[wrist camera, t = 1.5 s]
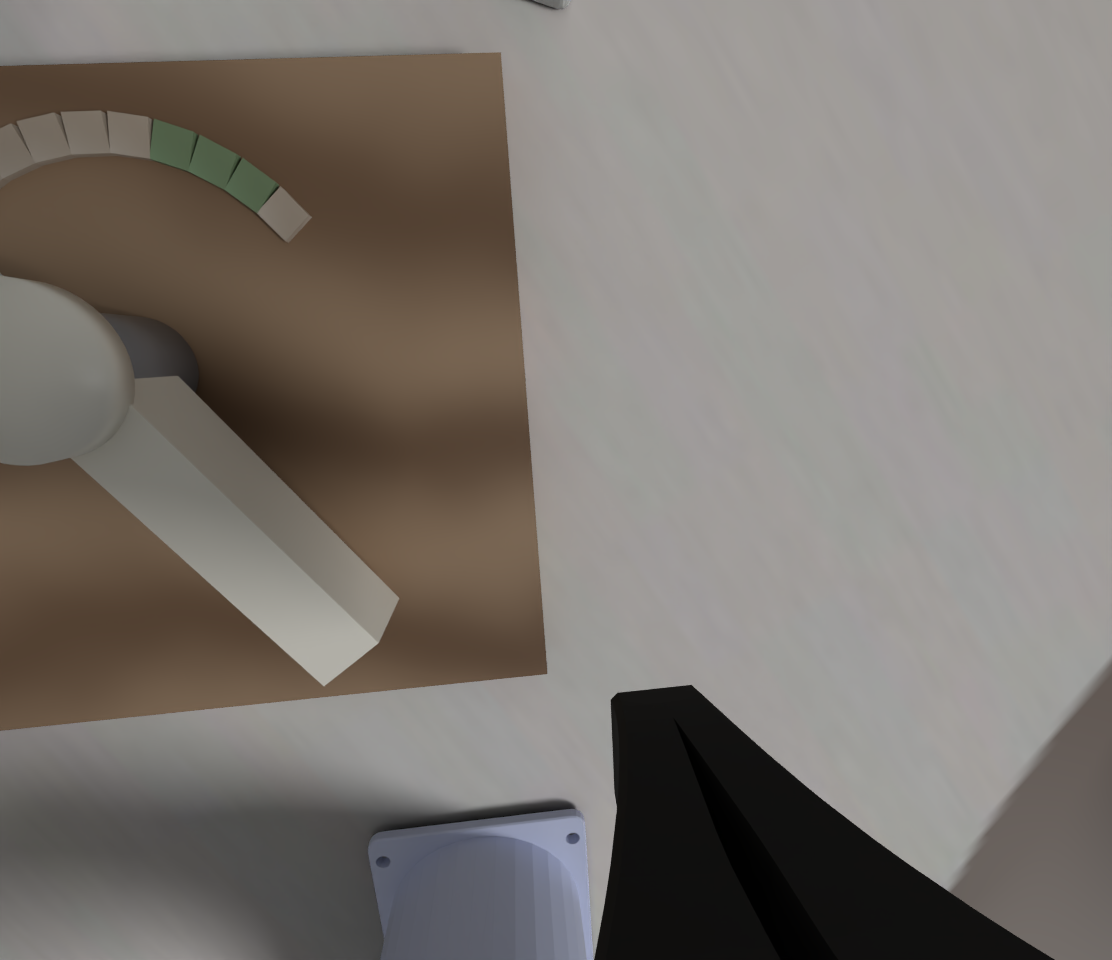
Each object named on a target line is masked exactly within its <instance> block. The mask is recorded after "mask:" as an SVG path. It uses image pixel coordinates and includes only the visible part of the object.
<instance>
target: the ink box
mask: <svg viewBox="0 0 1112 960" xmlns="http://www.w3.org/2000/svg"><path fill="white" fill-rule="evenodd" d="M533 1H536V2H539V3H541V4H544V5H547V6H550V7H553V8H556V9H565V8H566V7H567V6H568V5H569V3H570V1H571V0H533Z"/></svg>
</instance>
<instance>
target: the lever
mask: <svg viewBox="0 0 1112 960" xmlns="http://www.w3.org/2000/svg"><path fill="white" fill-rule="evenodd" d="M198 380H199V371H198V365H197V361H196V358H195V355H194V353H193V351H192V349H191V347H190V346H189V345H188V343H187V342H186V341H185V339H184V338H183V337H182V336H181V335H180V334H179V333H178V332H177V331H175V330H174V329H172V328H171V327H170V326H168V325H166V324H164V323H162V322H160V321H157V320H154V319H151V318H146V317H137V316H127V315H116V314H106V313H99V312H98V311H97V310H96V309H95V308H94V307H92V306H91V305H90V304H88V303H87V302H85V301H84V300H83V299H81V298H79V297H78V296H76V295H74V294H72V293H71V292H69V291H66V290H64V289H62V288H59V287H57V286H54V285H51V284H47V283H44V282H38V281H33V280H27V279H20V278H13V277H7V276H3V275H2V274H1V273H0V463H3V464H10V465H24V466H30V465H41V464H46V463H50V462H55V461H59V460H63V459H67V458H71V459H72V460H73V461H74V462H76V463H77V464H78V465H79V466H80V467H81V468H82V469H83V470H84V471H86V472H87V473H88V474H89V475H90V476H91V477H92V478H93V479H94V480H96V481H97V482H98V483H99V484H100V485H101V486H102V487H103V488H104V489H106V490H107V491H108V492H109V493H110V494H111V495H112V496H113V497H114V498H115V499H117V500H118V501H119V502H120V503H121V504H122V505H123V506H124V507H125V508H127V509H128V510H129V511H130V512H131V513H132V514H133V515H134V516H135V517H137V518H138V519H139V520H140V521H141V522H142V523H143V524H144V525H145V526H147V527H148V528H149V529H150V530H151V531H152V532H153V533H154V534H155V535H157V536H158V537H159V538H160V539H161V540H162V541H163V542H164V543H165V544H166V545H168V546H169V547H170V548H171V549H172V550H173V551H174V552H175V553H176V554H178V555H179V556H180V557H181V558H182V559H183V560H184V561H185V562H186V563H188V564H189V565H190V566H191V567H192V568H193V569H194V570H195V571H196V572H198V573H199V574H200V575H201V576H202V577H203V578H204V579H205V580H206V581H208V582H209V583H210V584H211V585H212V586H213V587H214V588H215V589H216V590H217V591H219V592H220V593H221V594H222V595H223V596H224V597H225V598H226V599H227V600H229V601H230V602H231V603H232V604H233V605H234V606H235V607H236V608H237V609H239V610H240V611H241V612H242V613H243V614H244V615H245V616H246V617H247V618H249V619H250V620H251V621H252V622H253V623H254V624H255V625H256V626H257V627H259V628H260V629H261V630H262V631H263V632H264V633H265V634H266V635H267V636H268V637H270V638H271V639H272V640H273V641H274V642H275V643H276V644H277V645H278V646H280V647H281V648H282V649H283V650H284V651H285V652H286V653H287V654H288V655H290V656H291V657H292V658H293V659H294V660H295V661H296V662H297V663H298V664H300V665H301V666H302V667H303V668H304V669H305V670H306V671H307V672H308V673H309V674H311V675H312V676H313V677H314V678H315V679H316V680H317V681H318V682H319V683H321V684H322V685H323V686H325V685H326V684H328V683H329V682H330V681H331V680H333V679H334V678H335V677H337V676H338V675H339V674H340V673H342V672H343V671H344V670H345V669H347V668H348V667H349V666H350V665H352V664H353V663H354V662H355V661H357V660H358V659H359V658H361V657H362V656H363V655H364V654H366V653H367V652H368V651H369V650H371V649H372V648H373V647H374V646H376V645H377V644H378V643H379V641H380V639H381V637H382V635H383V633H384V631H385V628H386V626H387V624H388V622H389V620H390V618H391V615H392V613H393V611H394V609H395V607H396V605H397V602H398V600H399V597H398V596H397V595H396V594H395V593H394V592H393V591H392V590H391V589H390V588H389V587H388V586H387V585H386V584H385V583H384V582H383V581H382V580H381V579H380V578H379V577H378V576H377V575H376V574H375V573H374V572H373V571H372V570H371V569H370V568H369V567H368V566H367V565H366V564H365V563H364V562H363V561H362V560H361V559H360V558H359V557H358V556H357V555H356V554H355V553H354V552H353V551H352V550H351V549H350V548H349V547H348V546H347V545H346V544H345V543H344V542H343V541H342V540H341V539H340V538H339V537H338V536H337V535H336V534H335V533H334V532H333V531H332V530H331V529H330V528H329V527H328V526H327V525H326V524H325V523H324V522H323V521H322V520H321V519H320V518H319V517H318V516H317V515H316V514H315V513H314V512H313V511H312V510H311V509H310V508H309V507H308V506H307V505H306V504H305V503H304V502H303V501H302V500H301V499H300V498H299V497H298V496H297V495H296V494H295V493H294V492H293V491H292V490H291V489H290V488H289V487H288V486H287V485H286V484H285V483H284V482H283V481H282V480H281V479H280V478H279V477H278V476H277V475H276V474H275V473H274V472H273V471H272V470H271V469H270V468H269V467H268V466H267V465H266V464H265V463H264V462H263V461H262V460H261V459H260V458H259V457H258V456H257V455H256V454H255V453H254V452H253V451H252V450H251V449H250V448H249V447H248V446H247V445H246V444H245V443H244V442H243V441H242V440H241V439H240V438H239V437H238V436H237V435H236V434H235V433H234V432H233V431H232V430H231V429H230V428H229V427H228V426H227V425H226V424H225V423H224V422H223V421H222V420H221V419H220V418H219V417H218V416H217V415H216V414H215V413H214V412H213V411H212V410H211V408H210V407H209V406H208V405H207V404H206V403H205V402H204V401H203V400H202V399H201V398H200V397H199V396H198V395H197V394H196V393H195V392H196V389H197V386H198Z"/></svg>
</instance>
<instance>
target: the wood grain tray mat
mask: <svg viewBox="0 0 1112 960" xmlns="http://www.w3.org/2000/svg"><path fill="white" fill-rule="evenodd" d="M0 273H1V274H2V275H3V276H7V277H13V278H20V279H27V280H33V281H38V282H44V283H47V284H51V285H54V286H57V287H59V288H62V289H64V290H66V291H69V292H71V293H72V294H74V295H76V296H78V297H79V298H81V299H83V300H84V301H85V302H87V303H88V304H90V305H91V306H92V307H94V308H95V309H96V310H97V311H98V312H99V313H106V314H116V315H127V316H137V317H146V318H151V319H154V320H157V321H160V322H162V323H164V324H166V325H168V326H170V327H171V328H172V329H174V330H175V331H177V332H178V333H179V334H180V335H181V336H182V337H183V338H184V339H185V341H186V342H187V343H188V345H189V346H190V347H191V349H192V351H193V353H194V355H195V358H196V361H197V365H198V371H199V380H198V386H197V389H196V392H195V393H196V394H197V395H198V396H199V397H200V398H201V399H202V400H203V401H204V402H205V403H206V404H207V405H208V406H209V407H210V408H211V410H212V411H213V412H214V413H215V414H216V415H217V416H218V417H219V418H220V419H221V420H222V421H223V422H224V423H225V424H226V425H227V426H228V427H229V428H230V429H231V430H232V431H233V432H234V433H235V434H236V435H237V436H238V437H239V438H240V439H241V440H242V441H243V442H244V443H245V444H246V445H247V446H248V447H249V448H250V449H251V450H252V451H253V452H254V453H255V454H256V455H257V456H258V457H259V458H260V459H261V460H262V461H263V462H264V463H265V464H266V465H267V466H268V467H269V468H270V469H271V470H272V471H273V472H274V473H275V474H276V475H277V476H278V477H279V478H280V479H281V480H282V481H283V482H284V483H285V484H286V485H287V486H288V487H289V488H290V489H291V490H292V491H293V492H294V493H295V494H296V495H297V496H298V497H299V498H300V499H301V500H302V501H303V502H304V503H305V504H306V505H307V506H308V507H309V508H310V509H311V510H312V511H313V512H314V513H315V514H316V515H317V516H318V517H319V518H320V519H321V520H322V521H323V522H324V523H325V524H326V525H327V526H328V527H329V528H330V529H331V530H332V531H333V532H334V533H335V534H336V535H337V536H338V537H339V538H340V539H341V540H342V541H343V542H344V543H345V544H346V545H347V546H348V547H349V548H350V549H351V550H352V551H353V552H354V553H355V554H356V555H357V556H358V557H359V558H360V559H361V560H362V561H363V562H364V563H365V564H366V565H367V566H368V567H369V568H370V569H371V570H372V571H373V572H374V573H375V574H376V575H377V576H378V577H379V578H380V579H381V580H382V581H383V582H384V583H385V584H386V585H387V586H388V587H389V588H390V589H391V590H392V591H393V592H394V593H395V594H396V595H397V596H398V597H399V600H398V602H397V605H396V607H395V609H394V611H393V613H392V615H391V618H390V620H389V622H388V624H387V626H386V628H385V631H384V633H383V635H382V637H381V639H380V641H379V643H378V644H377V645H376V646H374V647H373V648H372V649H371V650H369V651H368V652H367V653H366V654H364V655H363V656H362V657H361V658H359V659H358V660H357V661H355V662H354V663H353V664H352V665H350V666H349V667H348V668H347V669H345V670H344V671H343V672H342V673H340V674H339V675H338V676H337V677H335V678H334V679H333V680H331V681H330V682H329V683H328V684H326V685H325V686H323V685H322V684H321V683H319V682H318V681H317V680H316V679H315V678H314V677H313V676H312V675H311V674H309V673H308V672H307V671H306V670H305V669H304V668H303V667H302V666H301V665H300V664H298V663H297V662H296V661H295V660H294V659H293V658H292V657H291V656H290V655H288V654H287V653H286V652H285V651H284V650H283V649H282V648H281V647H280V646H278V645H277V644H276V643H275V642H274V641H273V640H272V639H271V638H270V637H268V636H267V635H266V634H265V633H264V632H263V631H262V630H261V629H260V628H259V627H257V626H256V625H255V624H254V623H253V622H252V621H251V620H250V619H249V618H247V617H246V616H245V615H244V614H243V613H242V612H241V611H240V610H239V609H237V608H236V607H235V606H234V605H233V604H232V603H231V602H230V601H229V600H227V599H226V598H225V597H224V596H223V595H222V594H221V593H220V592H219V591H217V590H216V589H215V588H214V587H213V586H212V585H211V584H210V583H209V582H208V581H206V580H205V579H204V578H203V577H202V576H201V575H200V574H199V573H198V572H196V571H195V570H194V569H193V568H192V567H191V566H190V565H189V564H188V563H186V562H185V561H184V560H183V559H182V558H181V557H180V556H179V555H178V554H176V553H175V552H174V551H173V550H172V549H171V548H170V547H169V546H168V545H166V544H165V543H164V542H163V541H162V540H161V539H160V538H159V537H158V536H157V535H155V534H154V533H153V532H152V531H151V530H150V529H149V528H148V527H147V526H145V525H144V524H143V523H142V522H141V521H140V520H139V519H138V518H137V517H135V516H134V515H133V514H132V513H131V512H130V511H129V510H128V509H127V508H125V507H124V506H123V505H122V504H121V503H120V502H119V501H118V500H117V499H115V498H114V497H113V496H112V495H111V494H110V493H109V492H108V491H107V490H106V489H104V488H103V487H102V486H101V485H100V484H99V483H98V482H97V481H96V480H94V479H93V478H92V477H91V476H90V475H89V474H88V473H87V472H86V471H84V470H83V469H82V468H81V467H80V466H79V465H78V464H77V463H76V462H74V461H73V460H72V459H71V458H67V459H63V460H59V461H55V462H50V463H46V464H41V465H30V466H24V465H10V464H3V463H0V731H1V730H11V729H21V728H30V727H40V726H49V725H59V724H69V723H78V722H88V721H98V720H107V719H117V718H127V717H136V716H146V715H156V714H165V713H175V712H184V711H194V710H204V709H213V708H223V707H233V706H242V705H252V704H262V703H271V702H281V701H291V700H300V699H310V698H319V697H329V696H339V695H348V694H358V693H368V692H377V691H387V690H397V689H406V688H416V687H426V686H435V685H445V684H454V683H464V682H474V681H483V680H493V679H503V678H512V677H522V676H532V675H541V674H547V663H546V650H545V637H544V623H543V610H542V597H541V583H540V570H539V557H538V543H537V530H536V517H535V503H534V490H533V477H532V464H531V450H530V437H529V424H528V410H527V397H526V384H525V370H524V357H523V344H522V330H521V317H520V304H519V291H518V277H517V264H516V251H515V237H514V224H513V211H512V197H511V184H510V171H509V158H508V144H507V131H506V118H505V104H504V91H503V78H502V64H501V53H465V54H428V55H391V56H354V57H318V58H281V59H244V60H207V61H170V62H134V63H97V64H60V65H23V66H0Z"/></svg>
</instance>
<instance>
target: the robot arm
mask: <svg viewBox="0 0 1112 960" xmlns="http://www.w3.org/2000/svg"><path fill="white" fill-rule="evenodd" d="M611 718H612V741H613V765H614V789H615V798H616V803H617V814H616V823H615V832H614V840H613V849H612V858H611V866H610V873H609V879H608V886H607V892H606V898H605V904H604V911H603V916H602V921H601V927H600V932H599V938H598V943H597V948H596V954H595V958H594V960H1054V959H1053V958H1051V957H1049V956H1048V955H1046V954H1044V953H1043V952H1041V951H1040V950H1038V949H1036V948H1035V947H1033V946H1031V945H1030V944H1028V943H1026V942H1025V941H1023V940H1022V939H1020V938H1018V937H1017V936H1015V935H1013V934H1012V933H1011V932H1009V931H1007V930H1006V929H1004V928H1003V927H1001V926H1000V925H998V924H997V923H995V922H993V921H992V920H990V919H989V918H987V917H986V916H984V915H983V914H981V913H979V912H978V911H976V910H975V909H973V908H972V907H970V906H969V905H967V904H966V903H964V902H963V901H962V900H960V899H959V898H957V897H956V896H954V895H953V894H951V893H950V892H948V891H947V890H945V889H944V888H943V887H941V886H940V885H938V884H937V883H935V882H934V881H932V880H931V879H929V878H928V877H926V876H925V875H923V874H922V873H921V872H919V871H918V870H916V869H915V868H913V867H912V866H910V865H909V864H907V863H906V862H905V861H903V860H902V859H900V858H899V857H898V856H896V855H895V854H893V853H892V852H891V851H889V850H888V849H887V848H885V847H884V846H882V845H881V844H880V843H878V842H877V841H876V840H874V839H873V838H871V837H870V836H869V835H868V834H866V833H865V832H864V831H862V830H861V829H860V828H858V827H857V826H856V825H855V824H853V823H852V822H851V821H849V820H848V819H847V818H845V817H844V816H843V815H842V814H840V813H839V812H838V811H836V810H835V809H834V808H832V807H831V806H830V805H829V804H827V803H826V802H825V801H823V800H822V799H821V798H820V797H818V796H817V795H816V794H815V793H814V792H812V791H811V790H810V789H809V788H807V787H806V786H805V785H804V784H803V783H801V782H800V781H799V780H798V779H797V778H796V777H794V776H793V775H792V774H791V773H790V772H788V771H787V770H786V769H785V768H784V767H783V766H781V765H780V764H779V763H778V762H777V761H775V760H774V759H773V758H772V757H771V756H770V755H768V754H767V753H766V752H765V751H764V750H763V749H762V748H761V747H759V746H758V745H757V744H756V743H755V742H754V741H753V740H751V739H750V738H749V737H748V736H747V735H746V734H745V733H744V732H743V731H741V730H740V729H739V728H738V727H737V726H736V725H735V724H734V723H733V722H732V721H730V720H729V719H728V718H727V717H726V716H725V715H724V714H723V713H722V712H721V711H719V710H718V709H717V708H716V707H715V706H714V705H713V704H712V703H711V702H710V701H709V700H707V699H706V698H705V697H704V696H703V695H702V694H701V693H700V692H699V691H697V690H696V689H695V688H694V687H693V686H692V685H687V686H678V687H668V688H659V689H649V690H640V691H631V692H621V693H617V694H616V695H615V696H614V697H613V698H612V699H611ZM570 833H576V834H573V835H569V834H570ZM368 856H369V862H370V867H371V872H372V878H373V883H374V888H375V894H376V899H377V904H378V910H379V915H380V920H381V926H382V931H383V936H384V944H383V949H382V953H381V958H380V960H593V948H592V931H591V915H590V898H589V881H588V865H587V848H586V831H585V821H584V816H583V814H582V813H581V812H580V811H579V810H576V809H565V810H557V811H548V812H540V813H532V814H523V815H515V816H507V817H499V818H490V819H482V820H474V821H465V822H457V823H449V824H441V825H432V826H424V827H416V828H407V829H399V830H391V831H383V832H379V833H376V834H375V835H373V836H372V838H371V839H370V842H369V845H368ZM382 856H385V857H387V858H384V857H382Z"/></svg>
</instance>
